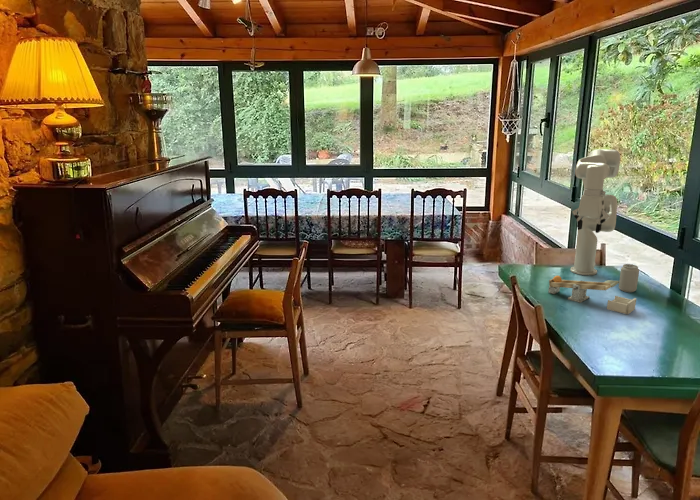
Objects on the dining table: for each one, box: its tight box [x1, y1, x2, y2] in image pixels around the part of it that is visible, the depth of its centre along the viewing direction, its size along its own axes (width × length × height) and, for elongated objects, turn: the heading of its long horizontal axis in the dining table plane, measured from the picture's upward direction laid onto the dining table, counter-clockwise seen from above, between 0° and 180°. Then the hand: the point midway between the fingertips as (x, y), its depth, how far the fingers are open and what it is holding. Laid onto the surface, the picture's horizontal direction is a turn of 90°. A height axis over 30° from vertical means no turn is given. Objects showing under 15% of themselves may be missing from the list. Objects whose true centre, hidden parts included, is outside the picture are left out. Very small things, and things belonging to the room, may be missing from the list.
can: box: [618, 263, 640, 293], centre depth 244 cm, size 8×8×12 cm
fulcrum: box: [547, 284, 590, 304], centre depth 237 cm, size 16×11×7 cm, turn 44°
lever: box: [548, 278, 619, 291], centre depth 236 cm, size 25×14×3 cm, turn 43°
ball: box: [552, 275, 563, 283], centre depth 240 cm, size 4×4×4 cm
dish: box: [606, 295, 637, 316], centre depth 222 cm, size 8×8×5 cm
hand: (588, 230), depth 241 cm, fingers open, 7 cm apart
